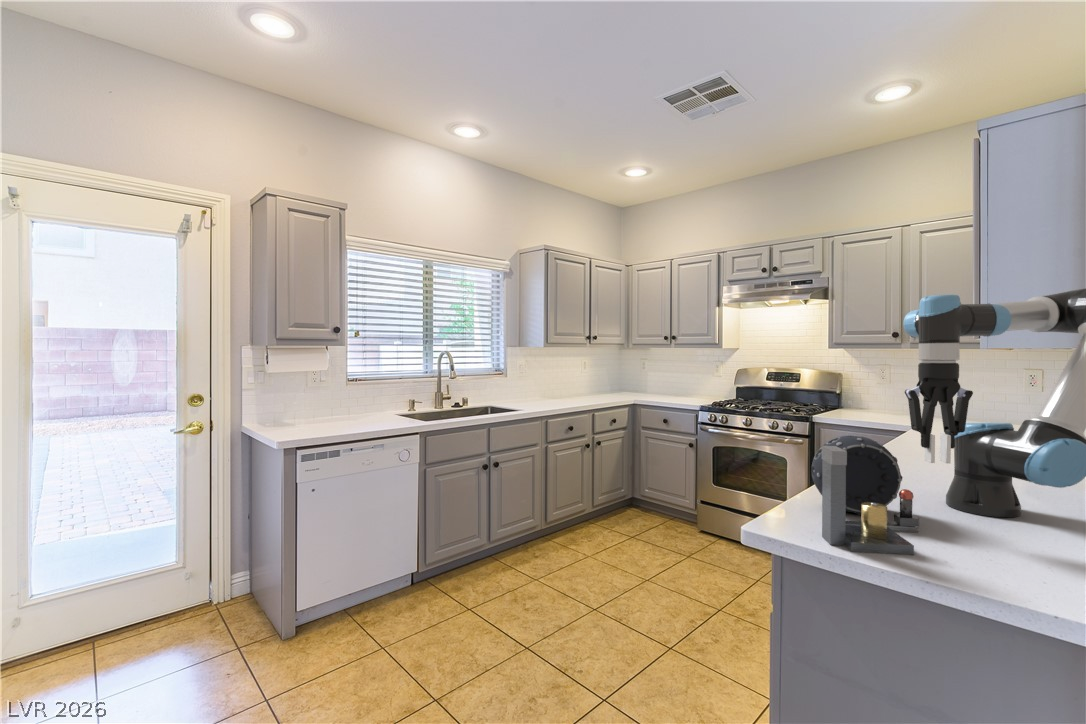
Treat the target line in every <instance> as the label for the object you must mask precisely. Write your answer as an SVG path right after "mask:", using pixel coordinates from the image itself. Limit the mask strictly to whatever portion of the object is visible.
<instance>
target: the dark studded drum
mask: <svg viewBox="0 0 1086 724" xmlns="http://www.w3.org/2000/svg"><path fill="white" fill-rule="evenodd" d="M822 446H837V447H839V448H841V449H843V450H845V451H847V465H846V512H849V513H852V514H853V513H854V514H856V515H861V504H862V503H864V502H872V503H878V504H882V505H885V506H887V507H888V506H889V504H890V503H892V502H893V501H894V500H895V499H897V497H898V494H899V492H900V488H901V483H902V481H903V476H902V473H901V470H900V466H899V464H898V458H897V457H896V456H894V454H893V453H892V452H891V451H890V450H889V449H887V448H886V447H885V446H884V445H883V444H882V443H879V442H878V441H875V440H874V439H871V438H868V437H865V436H861V435H841V436H837V437H835V438H832V439H830V440H828V441H826V442H825V443H824V444H822V445H821V446H820V447H819V449H818V450H817V451H816V453H815V454H814V456H813V458H812V462H811V463H812V464H811V478H812V481H813V483H814V485H815V487H816V489H817V490H818V492H819V494H820V495H821V496H822Z"/></svg>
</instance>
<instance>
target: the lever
mask: <svg viewBox="0 0 1086 724" xmlns="http://www.w3.org/2000/svg"><path fill="white" fill-rule="evenodd" d="M913 493H914V492H912V491H911V490H910V489H907V488H905V489H901V490H899V491H898V497H899V513H893V515H892V516H893V517H892V518H893V519H892V520H893V521H892V522H893V523H897V524H898V525H901V526H917V527H919V526H920V518H918V517H917V516H915V515H914V514H913V499H914V494H913Z"/></svg>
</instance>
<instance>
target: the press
mask: <svg viewBox="0 0 1086 724" xmlns="http://www.w3.org/2000/svg"><path fill="white" fill-rule="evenodd" d="M821 446H822V495H821V496H822V497H821V499H822V501H821V502H822V503H821V504H822V505H821V508H822V509H821V512H822V513H821V514H822V515H821V537H822V538H823V539H824V541H826V542H827V543H828V545H829V546H837V547H838V546H839V547H846V548H847V550H848V551H850V552H852V553H853V552H855V553H872V554H887V555H888V554H890V555H891V554H892V555H907V556H908V555H909V556H914V555H915V545H913V543H911V542H909V541H908V540H907V539H906V538H904V537H903V536H902V535H900V534H898V533H897V532H903V533H904V532H907V533H909V532H910V533H918V532H919V526H901V525H898V524H897V523H895V522H889V521H887V538H885V539H876V538H871V537H867V536H865V535H863V534H862V533H861V520H847V519H846V514H847V513H846V512H847V511H846V465H847V451H845V450H843V449H841V448H839V447H837V446H823V445H821Z"/></svg>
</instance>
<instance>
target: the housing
mask: <svg viewBox="0 0 1086 724" xmlns="http://www.w3.org/2000/svg"><path fill="white" fill-rule="evenodd" d="M860 521H861V533H862V534H863V535H865V536H867V537H871V538H876V539H885V538H887V522H888V505H887V506H885V505H882V504H878V503H872V502H864V503H862V504H861V516H860Z"/></svg>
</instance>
